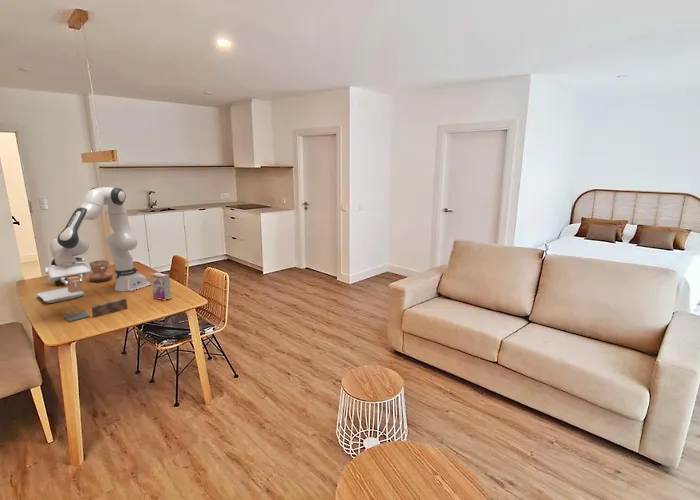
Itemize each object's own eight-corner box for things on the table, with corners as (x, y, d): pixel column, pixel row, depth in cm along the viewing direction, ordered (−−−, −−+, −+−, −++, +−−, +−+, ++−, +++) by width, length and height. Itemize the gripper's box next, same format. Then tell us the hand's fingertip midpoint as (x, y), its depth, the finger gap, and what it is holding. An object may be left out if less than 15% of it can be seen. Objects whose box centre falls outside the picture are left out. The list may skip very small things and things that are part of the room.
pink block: (78, 289, 220) (76, 275, 218) (81, 291, 217) (80, 277, 215) (68, 291, 216) (66, 277, 214) (71, 293, 213) (69, 279, 211)
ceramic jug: (115, 280, 285) (113, 262, 282) (93, 284, 274) (90, 265, 272) (108, 276, 297) (106, 258, 294) (86, 279, 287) (84, 261, 284)
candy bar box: (152, 298, 251) (150, 274, 248) (159, 296, 256) (157, 272, 252) (164, 301, 247) (162, 276, 243) (171, 298, 251) (169, 274, 248)
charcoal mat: (83, 312, 226) (83, 311, 226) (90, 316, 220) (90, 315, 220) (63, 317, 218) (63, 316, 218) (69, 322, 213) (69, 320, 212)
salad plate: (74, 290, 264) (74, 285, 263) (85, 297, 251) (85, 292, 250) (36, 298, 248) (35, 293, 247) (45, 306, 235) (44, 301, 234)
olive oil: (70, 285, 272) (65, 251, 266) (52, 287, 267) (47, 252, 262) (74, 281, 281) (69, 248, 275) (56, 283, 277) (51, 249, 271)
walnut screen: (125, 307, 235) (124, 298, 233) (127, 308, 233) (126, 299, 232) (92, 316, 221) (91, 306, 219) (94, 317, 220) (92, 307, 218)
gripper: (44, 263, 209) (52, 284, 205) (87, 257, 225) (95, 276, 221) (42, 270, 212) (50, 290, 209) (85, 263, 228) (93, 282, 225)
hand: (74, 283), depth 215 cm, fingers closed on pink block, 5 cm apart
